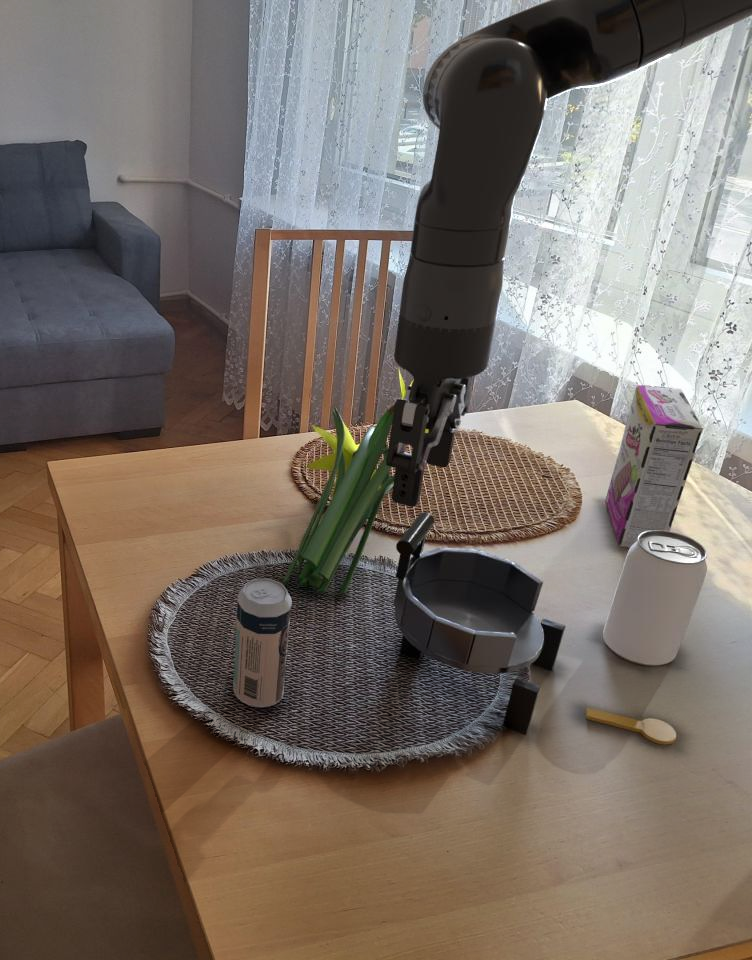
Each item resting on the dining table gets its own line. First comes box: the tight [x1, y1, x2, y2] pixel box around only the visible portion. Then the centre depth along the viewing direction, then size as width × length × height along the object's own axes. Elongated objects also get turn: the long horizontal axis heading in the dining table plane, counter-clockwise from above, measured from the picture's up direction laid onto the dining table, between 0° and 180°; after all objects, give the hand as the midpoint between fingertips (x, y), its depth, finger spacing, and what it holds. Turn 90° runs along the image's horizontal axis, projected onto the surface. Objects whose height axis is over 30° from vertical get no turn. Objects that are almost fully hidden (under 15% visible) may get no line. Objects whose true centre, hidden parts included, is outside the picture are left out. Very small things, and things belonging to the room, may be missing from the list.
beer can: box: [232, 578, 293, 708], centre depth 79 cm, size 5×5×12 cm
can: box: [602, 530, 708, 667], centre depth 83 cm, size 6×6×12 cm
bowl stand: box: [399, 618, 566, 736], centre depth 82 cm, size 13×11×5 cm
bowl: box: [393, 511, 544, 675], centre depth 79 cm, size 14×13×9 cm
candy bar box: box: [604, 384, 704, 550], centre depth 101 cm, size 11×5×16 cm, turn 161°
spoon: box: [585, 707, 678, 745], centre depth 76 cm, size 7×3×1 cm, turn 65°
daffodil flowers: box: [281, 365, 429, 598], centre depth 104 cm, size 17×15×35 cm
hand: (421, 482), depth 78 cm, fingers open, 8 cm apart
